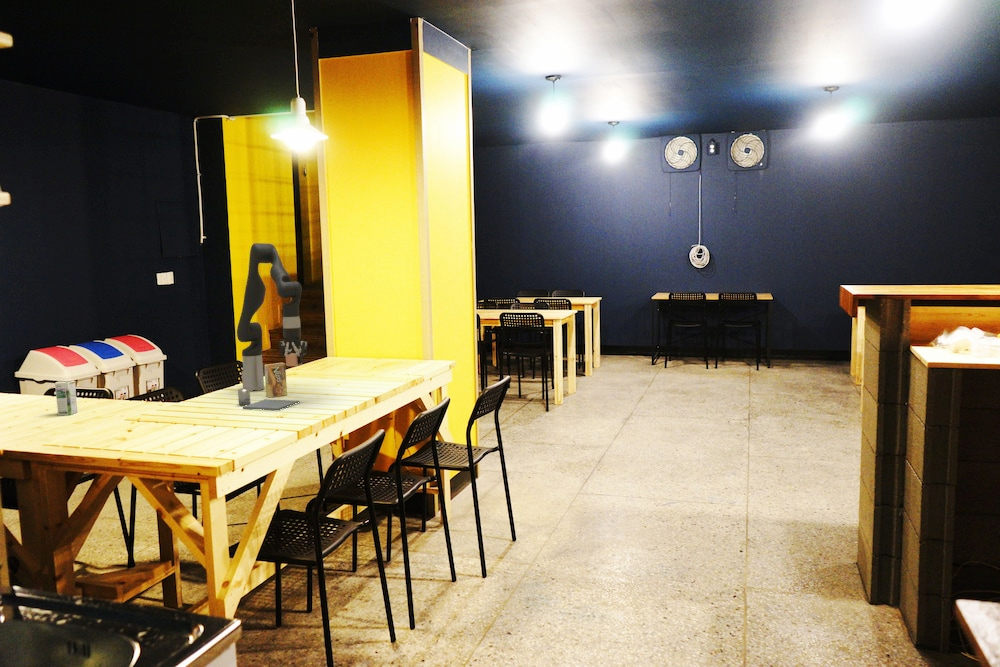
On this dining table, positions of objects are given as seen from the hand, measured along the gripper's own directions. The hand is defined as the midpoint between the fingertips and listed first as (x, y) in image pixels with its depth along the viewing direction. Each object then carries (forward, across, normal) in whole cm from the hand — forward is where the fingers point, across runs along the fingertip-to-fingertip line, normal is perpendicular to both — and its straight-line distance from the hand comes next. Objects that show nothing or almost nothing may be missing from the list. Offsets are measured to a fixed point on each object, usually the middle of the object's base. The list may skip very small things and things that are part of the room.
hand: (294, 364), depth 336 cm
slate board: (+17, +6, +10) cm, 21 cm away
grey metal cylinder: (+17, +20, +9) cm, 28 cm away
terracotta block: (0, 0, 0) cm, 0 cm away
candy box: (+18, +17, -11) cm, 27 cm away
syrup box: (+18, +89, +39) cm, 99 cm away
